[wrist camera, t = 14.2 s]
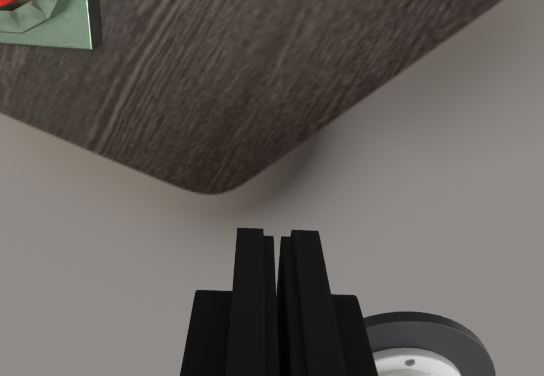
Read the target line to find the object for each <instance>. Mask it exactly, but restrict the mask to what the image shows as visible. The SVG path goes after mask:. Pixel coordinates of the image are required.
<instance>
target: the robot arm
mask: <svg viewBox="0 0 544 376" xmlns="http://www.w3.org/2000/svg"><path fill="white" fill-rule="evenodd" d="M180 376H461V374H460V372H459V370H458V368H457V367H456V366H455V365H454V364H453V363H452V362H451V361H449V360H448V359H446V358H445V357H443V356H442V355H439V354H437V353H434V352H432V351H428V350H423V349H418V348H391V349H386V350H381V351H377V352H374V353H372V350H371V346H370V342H369V339H368V335H367V331H366V327H365V324H364V320H363V316H362V313H361V309H360V305H359V302H358V299H357V297H356V296H355V295H335V294H334V295H333V294H331V292H330V287H329V282H328V277H327V272H326V267H325V262H324V257H323V251H322V246H321V241H320V236H319V232H318V231H307V230H292V231H291V237H283V236H282V237H281V244H280V256H279V270H278V281H277V294H276V283H275V260H274V239H273V236H264V234H263V229H256V228H237V239H236V252H235V264H234V277H233V291H213V290H196V292H195V297H194V302H193V308H192V313H191V318H190V324H189V329H188V335H187V340H186V345H185V351H184V356H183V362H182V368H181V373H180Z"/></svg>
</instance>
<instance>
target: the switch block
mask: <svg viewBox="0 0 544 376" xmlns="http://www.w3.org/2000/svg"><path fill="white" fill-rule="evenodd" d="M101 42H102V34H101V23H100V11H99V0H18V1H16V2H13V3H10V4H7V5H4V6H1V7H0V43H2V44H15V45H29V46H43V47H56V48H70V49H84V50H92V49H94V48H95V47H96V46H97V45H99V44H100V43H101Z"/></svg>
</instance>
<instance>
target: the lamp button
mask: <svg viewBox="0 0 544 376" xmlns="http://www.w3.org/2000/svg"><path fill="white" fill-rule="evenodd" d="M16 1H18V0H0V7H1V6H4V5H7V4H10V3H13V2H16Z"/></svg>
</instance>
